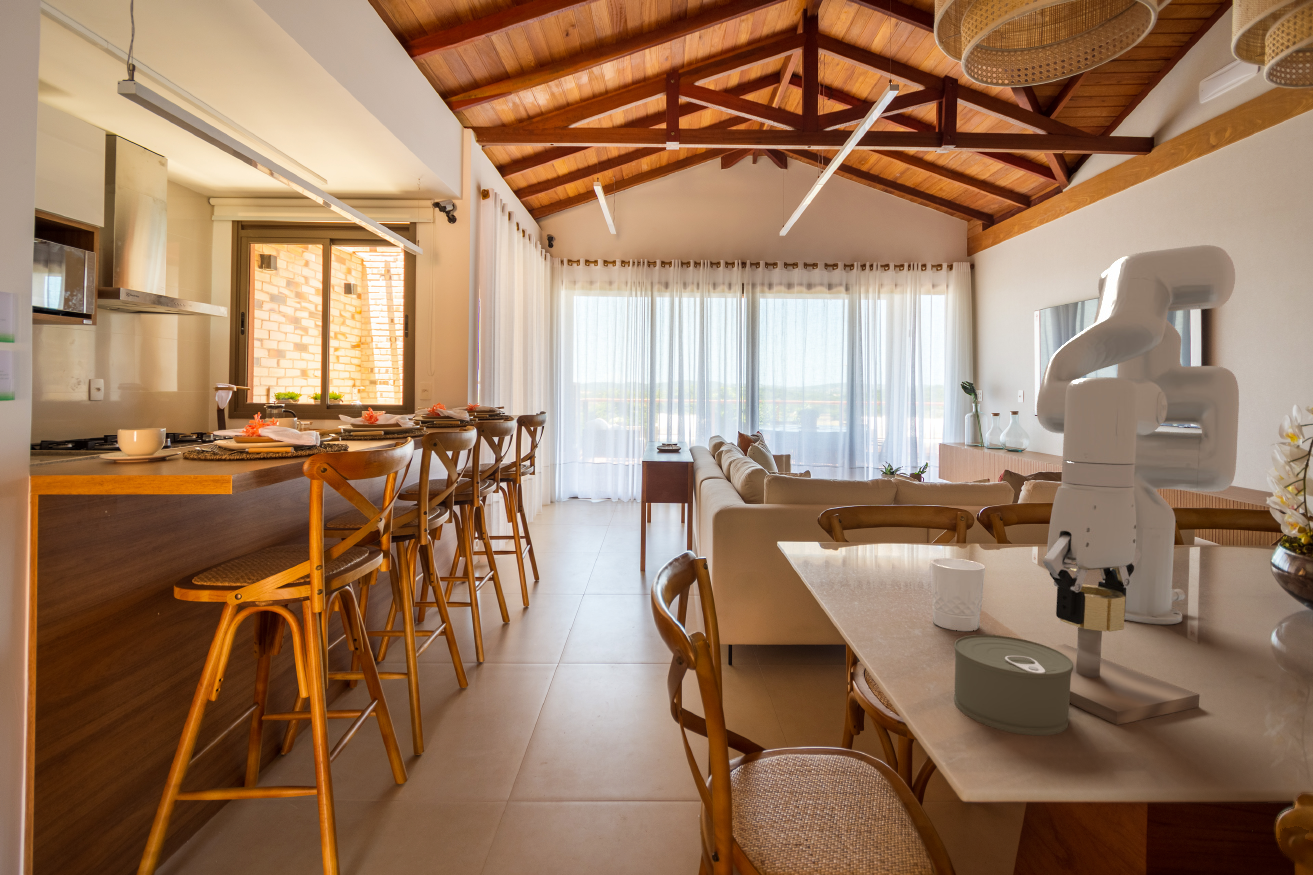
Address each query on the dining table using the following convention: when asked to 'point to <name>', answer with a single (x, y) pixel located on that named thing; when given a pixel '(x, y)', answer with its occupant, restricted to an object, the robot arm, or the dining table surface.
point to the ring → (1102, 609)
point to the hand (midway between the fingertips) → (1090, 616)
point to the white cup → (957, 593)
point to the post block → (1118, 685)
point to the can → (1012, 684)
